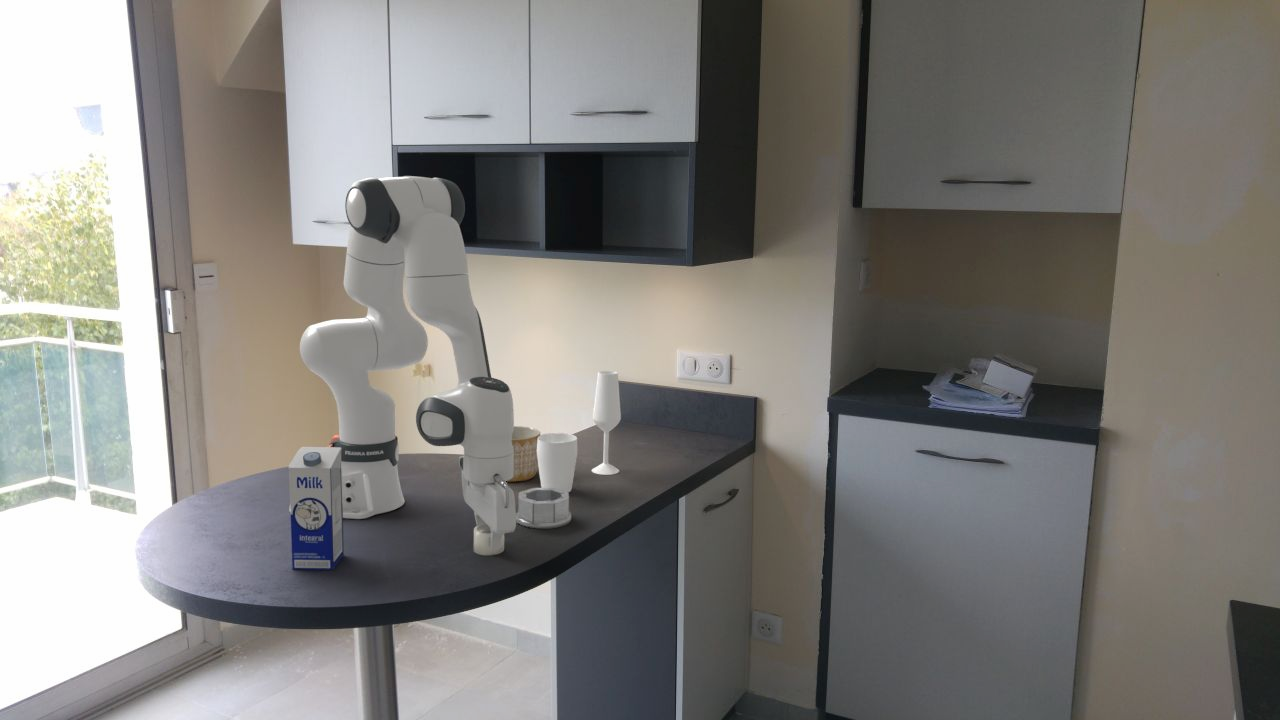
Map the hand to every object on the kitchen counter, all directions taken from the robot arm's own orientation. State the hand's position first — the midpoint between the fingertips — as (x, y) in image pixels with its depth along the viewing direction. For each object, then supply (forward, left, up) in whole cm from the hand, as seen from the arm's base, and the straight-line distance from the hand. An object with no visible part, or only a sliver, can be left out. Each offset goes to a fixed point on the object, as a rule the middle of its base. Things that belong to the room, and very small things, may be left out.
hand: (488, 540), depth 165 cm
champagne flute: (+25, +50, -2) cm, 56 cm away
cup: (+13, +35, -2) cm, 37 cm away
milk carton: (-29, -5, -2) cm, 29 cm away
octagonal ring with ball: (+10, +16, -2) cm, 19 cm away
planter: (+3, +46, -2) cm, 46 cm away
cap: (0, 0, -2) cm, 2 cm away
